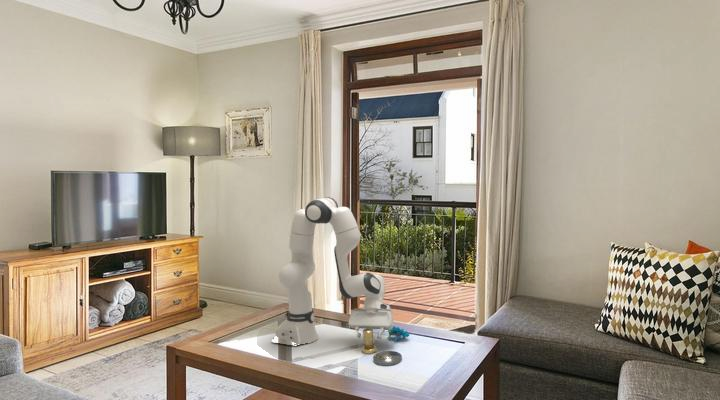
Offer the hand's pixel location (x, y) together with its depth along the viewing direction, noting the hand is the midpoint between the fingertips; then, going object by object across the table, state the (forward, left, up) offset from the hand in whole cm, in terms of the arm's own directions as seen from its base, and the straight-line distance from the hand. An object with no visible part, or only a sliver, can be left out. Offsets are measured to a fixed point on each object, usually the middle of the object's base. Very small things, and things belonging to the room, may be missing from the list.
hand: (368, 337), depth 197 cm
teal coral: (+10, +15, -7) cm, 19 cm away
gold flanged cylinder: (0, 0, -6) cm, 6 cm away
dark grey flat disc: (+10, -7, -6) cm, 14 cm away
